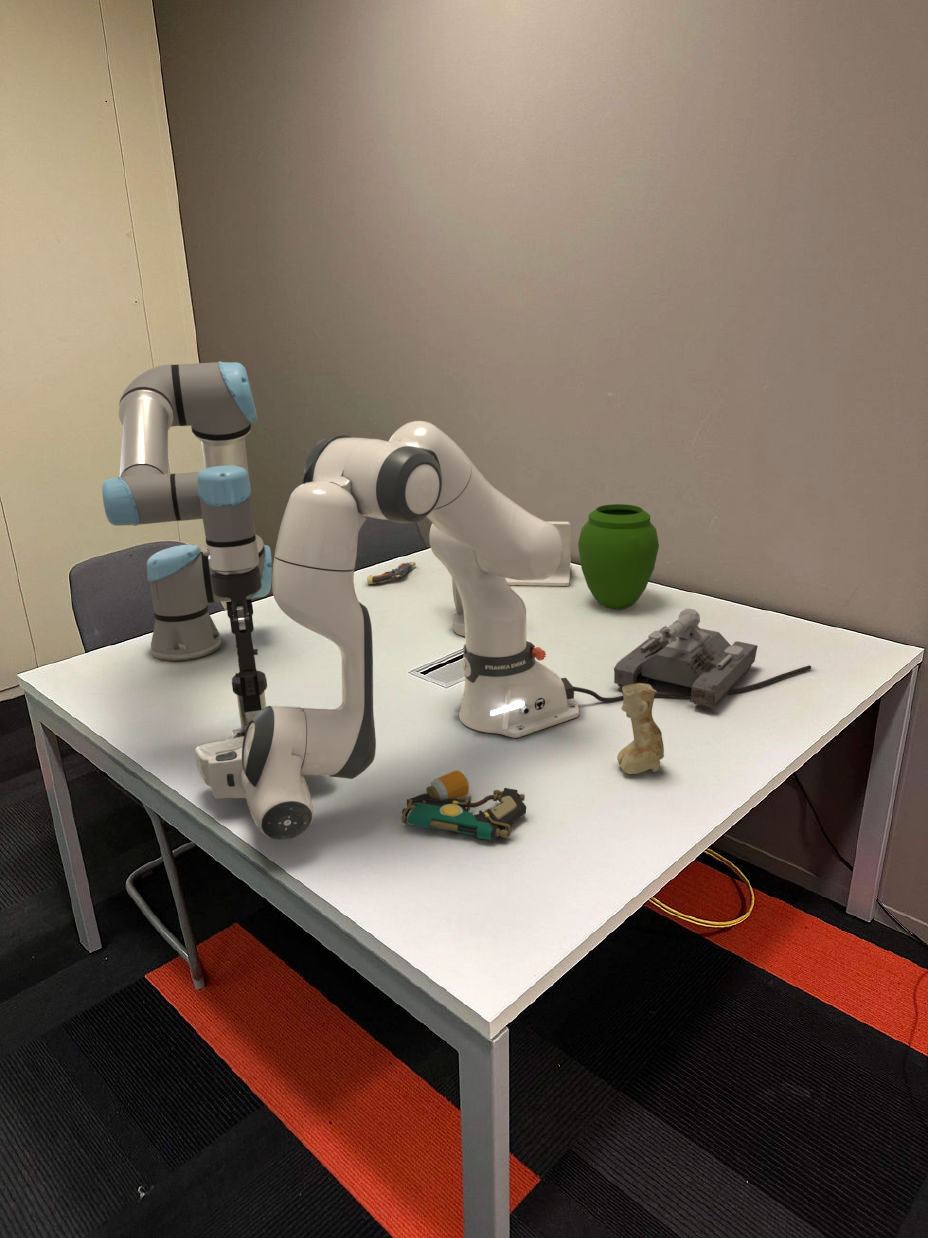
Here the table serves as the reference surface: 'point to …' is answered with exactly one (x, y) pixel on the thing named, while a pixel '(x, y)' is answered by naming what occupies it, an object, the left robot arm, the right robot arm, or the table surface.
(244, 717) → the beige long cylinder
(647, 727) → the sculpture
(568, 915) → the table surface
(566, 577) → the tablet stand
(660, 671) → the toy
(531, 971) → the table surface
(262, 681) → the lid
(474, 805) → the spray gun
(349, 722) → the right robot arm
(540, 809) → the table surface
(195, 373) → the left robot arm
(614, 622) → the table surface
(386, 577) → the toy gun
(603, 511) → the vase
